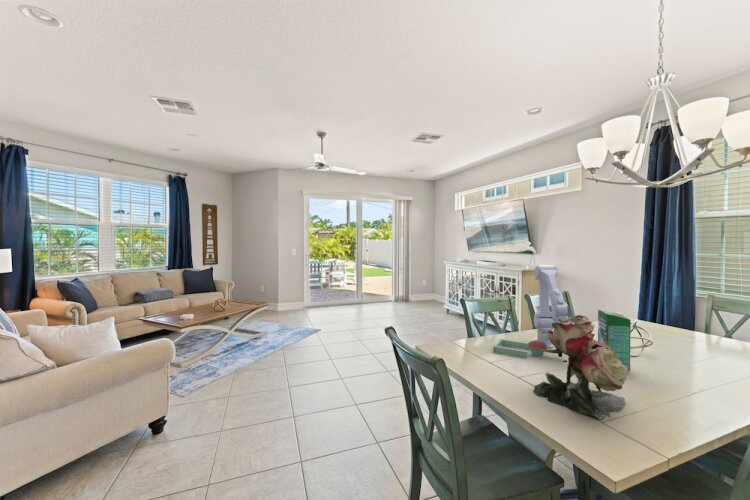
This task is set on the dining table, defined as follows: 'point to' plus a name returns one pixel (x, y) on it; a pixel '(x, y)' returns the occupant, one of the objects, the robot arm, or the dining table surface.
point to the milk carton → (615, 334)
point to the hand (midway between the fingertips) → (560, 356)
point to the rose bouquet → (584, 370)
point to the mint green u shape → (511, 351)
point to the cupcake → (537, 346)
